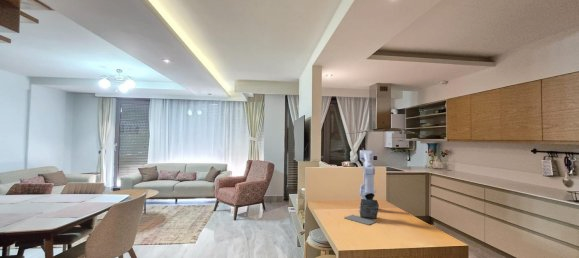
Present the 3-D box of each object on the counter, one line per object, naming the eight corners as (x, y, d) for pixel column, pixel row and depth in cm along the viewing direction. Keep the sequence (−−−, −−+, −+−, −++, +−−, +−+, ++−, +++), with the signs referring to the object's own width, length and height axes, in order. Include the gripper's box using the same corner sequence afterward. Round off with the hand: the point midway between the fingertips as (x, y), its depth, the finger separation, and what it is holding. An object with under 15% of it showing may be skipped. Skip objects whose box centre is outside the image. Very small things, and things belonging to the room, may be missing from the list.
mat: (352, 215, 173) (352, 214, 173) (376, 221, 160) (376, 221, 160) (343, 218, 166) (343, 217, 166) (368, 225, 153) (368, 224, 153)
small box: (374, 212, 172) (377, 199, 168) (376, 219, 166) (379, 205, 162) (359, 211, 173) (361, 198, 169) (360, 217, 167) (362, 204, 163)
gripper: (369, 186, 164) (369, 207, 163) (380, 184, 174) (380, 204, 173) (359, 185, 169) (359, 205, 168) (370, 182, 179) (370, 202, 178)
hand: (369, 204), depth 171 cm, fingers closed
